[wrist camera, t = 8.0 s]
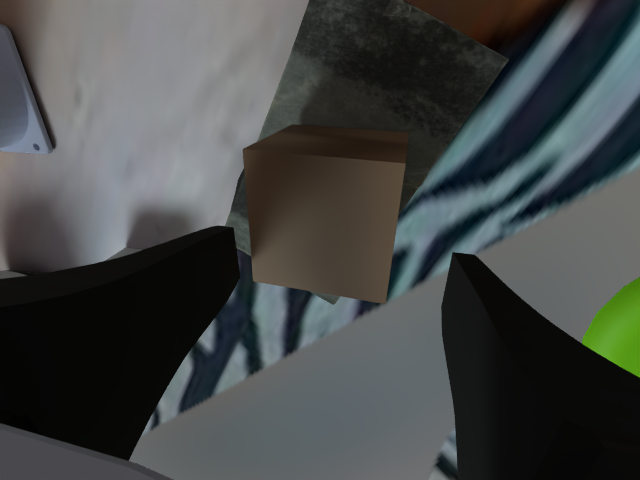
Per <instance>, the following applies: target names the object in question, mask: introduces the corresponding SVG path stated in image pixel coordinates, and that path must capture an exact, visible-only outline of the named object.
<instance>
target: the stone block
mask: <svg viewBox="0 0 640 480" xmlns="http://www.w3.org/2000/svg"><path fill="white" fill-rule="evenodd" d="M508 60H509V59H507V58H505V57H504V56H502V55H500V54H499V53H497V52H495V51H493V50H492V49H490V48H488V47H486V46H484V45H482V44H480V43H479V42H477V41H475V40H474V39H472V38H470V37H469V36H467V35H465V34H463V33H461V32H460V31H458V30H456V29H454V28H452V27H451V26H449V25H447V24H445V23H444V22H442V21H440V20H439V19H437V18H435V17H433V16H431V15H430V14H428V13H426V12H424V11H422V10H420V9H419V8H417V7H415V6H413V5H411V4H410V3H408V2H406V1H404V0H309V3H308V6H307V9H306V12H305V14H304V17H303V20H302V23H301V26H300V29H299V32H298V34H297V37H296V40H295V42H294V45H293V48H292V52H291V55H290V57H289V60H288V62H287V65H286V67H285V70H284V72H283V75H282V78H281V80H280V83H279V86H278V88H277V91H276V94H275V96H274V99H273V101H272V104H271V107H270V109H269V112H268V114H267V117H266V120H265V122H264V125H263V128H262V131H261V133H260V136H259V139H258V141H260V140H262V139H264V138H266V137H268V136H270V135H272V134H274V133H276V132H278V131H280V130H282V129H284V128H286V127H288V126H290V125H292V124H297V125H311V126H326V127H340V128H354V129H369V130H383V131H397V132H409V137H408V146H407V156H406V165H405V171H404V178H403V185H402V192H401V199H400V206H399V213H398V215H399V214H400V213H401V211H402V210H403V208H404V207H405V206H406V204H407V203H408V202H409V200H410V199H411V197H412V196H413V195H414V193H415V192H416V190H417V189H418V187H420V186H421V185H422V183H423V182H424V180H425V179H426V177H427V175H428V173H429V171H430V169H431V168H432V167H433V165H434V164H435V163H436V161H437V160H438V159H439V157H440V156H441V154H442V153H443V152H444V150H445V149H446V147H447V146H448V144H449V143H450V141H451V140H452V139H453V137H454V136H455V135H456V133H457V132H458V131H459V129H460V128H461V126H462V125H463V123H464V122H465V121H466V119H467V118H468V116H469V115H470V114H471V112H472V111H473V109H474V108H475V107H476V105H477V104H478V103H479V101H480V100H481V98H482V97H483V96H484V94H485V93H486V91H487V90H488V89H489V87H490V86H491V84H492V83H493V82H494V80H495V79H496V77H497V76H498V75H499V73H500V72H501V70H502V69H503V67H504V66H505V65H506V63H507V62H508ZM258 141H257V142H258ZM225 226H226V227H234V233H235V241H236V247H237V248H238V249H240V250H242V251H244V252H245V253H247V254H248V255H250V256H251V246H250V234H249V221H248V209H247V196H246V184H245V171H244V169H243V171H242V173H241V175H240V177H239V179H238V183H237V187H236V192H235V196H234V200H233V203H232V207H231V211H230V214H229V216H228V219H227V222H226V225H225ZM310 292H312V293H313V294H315V295H317V296H318V297H320V298H322V299H324V300H326V301H327V302H329V303H331V304H333V305H334V304H335V303H336V302H337V301H338V299H339V298H340V296H336V295H331V294H325V293H319V292H313V291H310Z"/></svg>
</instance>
